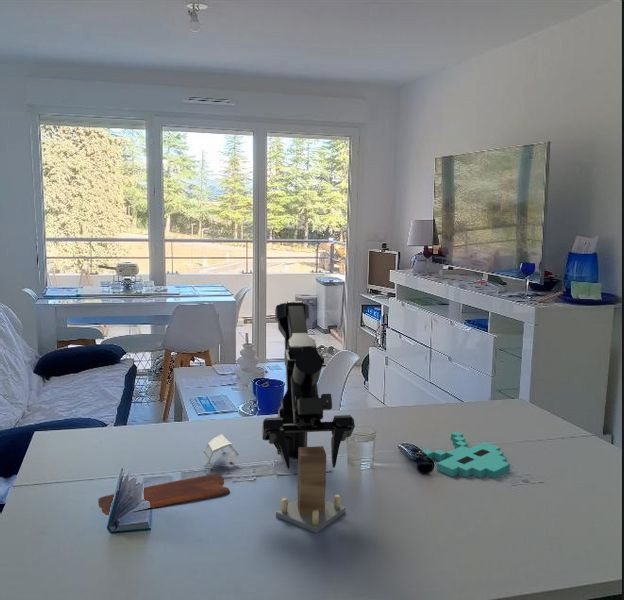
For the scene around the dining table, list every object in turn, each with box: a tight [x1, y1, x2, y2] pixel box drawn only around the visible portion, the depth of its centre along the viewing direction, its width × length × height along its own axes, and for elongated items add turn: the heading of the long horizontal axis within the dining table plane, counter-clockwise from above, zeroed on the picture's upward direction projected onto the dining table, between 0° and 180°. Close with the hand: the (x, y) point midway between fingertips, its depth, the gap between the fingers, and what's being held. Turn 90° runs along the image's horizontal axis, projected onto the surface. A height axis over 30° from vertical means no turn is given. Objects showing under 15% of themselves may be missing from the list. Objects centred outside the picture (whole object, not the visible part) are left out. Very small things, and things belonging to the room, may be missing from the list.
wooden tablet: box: [97, 473, 231, 516], centre depth 128 cm, size 27×10×2 cm, turn 114°
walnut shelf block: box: [297, 445, 327, 515], centre depth 120 cm, size 4×5×12 cm
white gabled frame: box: [203, 433, 240, 469], centre depth 145 cm, size 12×8×5 cm
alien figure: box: [422, 431, 511, 480], centre depth 148 cm, size 20×2×20 cm
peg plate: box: [275, 494, 346, 534], centre depth 121 cm, size 10×10×4 cm
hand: (311, 468), depth 120 cm, fingers open, 9 cm apart
